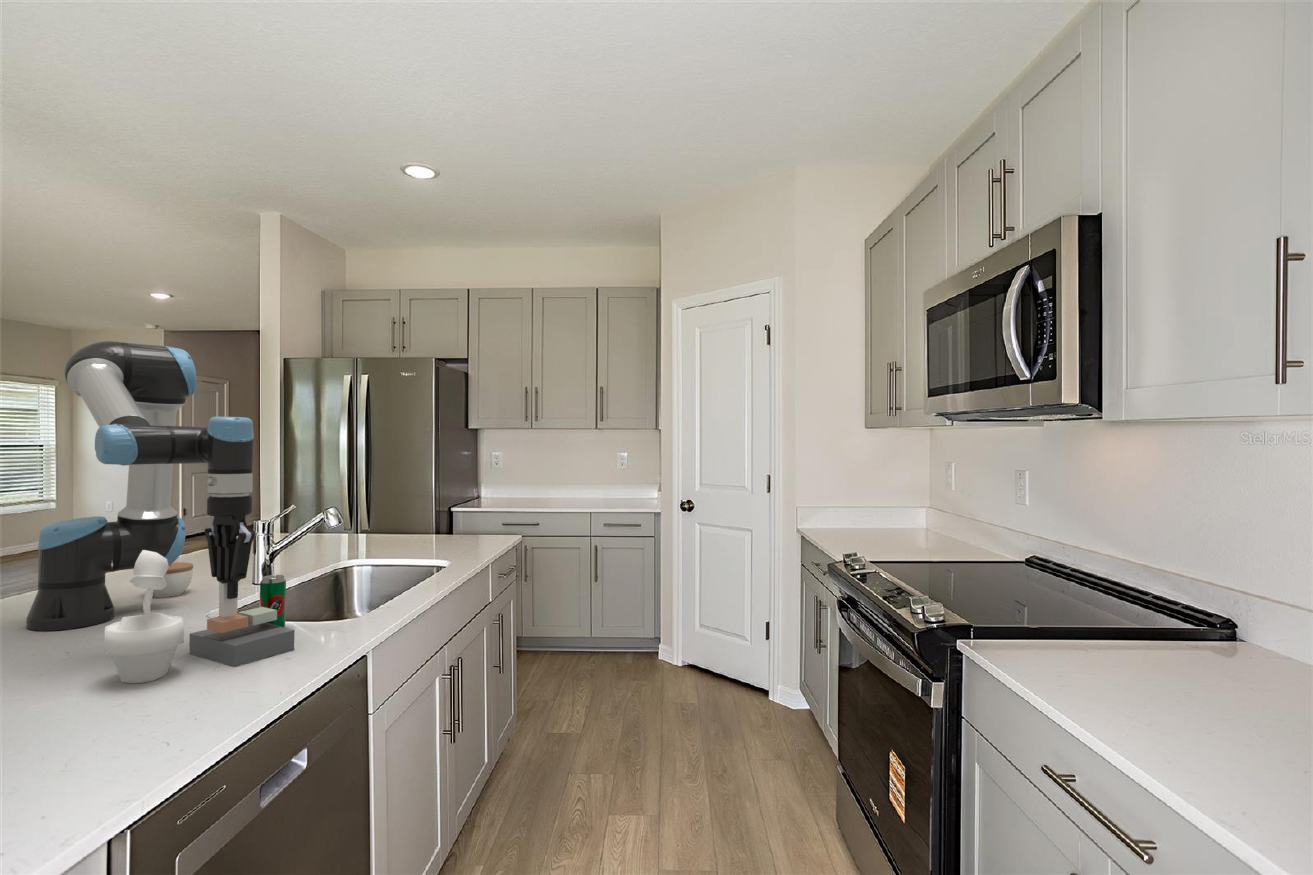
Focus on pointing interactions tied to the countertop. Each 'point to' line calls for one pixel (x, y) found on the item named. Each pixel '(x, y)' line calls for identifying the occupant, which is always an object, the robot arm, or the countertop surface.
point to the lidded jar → (176, 579)
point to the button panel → (242, 643)
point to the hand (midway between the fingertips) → (228, 614)
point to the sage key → (259, 615)
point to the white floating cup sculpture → (145, 628)
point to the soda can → (274, 596)
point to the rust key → (227, 623)
